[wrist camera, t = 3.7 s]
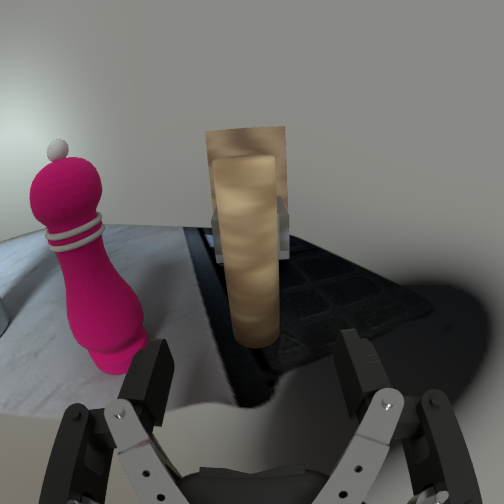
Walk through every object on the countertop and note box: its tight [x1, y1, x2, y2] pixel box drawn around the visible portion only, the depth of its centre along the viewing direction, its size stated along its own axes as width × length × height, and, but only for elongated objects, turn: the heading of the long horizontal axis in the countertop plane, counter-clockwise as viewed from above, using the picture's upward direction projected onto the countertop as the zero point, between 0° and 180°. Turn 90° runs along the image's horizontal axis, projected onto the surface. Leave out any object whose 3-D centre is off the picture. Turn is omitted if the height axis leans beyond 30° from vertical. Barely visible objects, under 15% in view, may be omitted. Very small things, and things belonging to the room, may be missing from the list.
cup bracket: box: [205, 126, 289, 263], centre depth 32 cm, size 10×10×18 cm
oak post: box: [212, 154, 279, 348], centre depth 22 cm, size 4×4×16 cm
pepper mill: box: [30, 139, 149, 375], centre depth 19 cm, size 7×7×20 cm
